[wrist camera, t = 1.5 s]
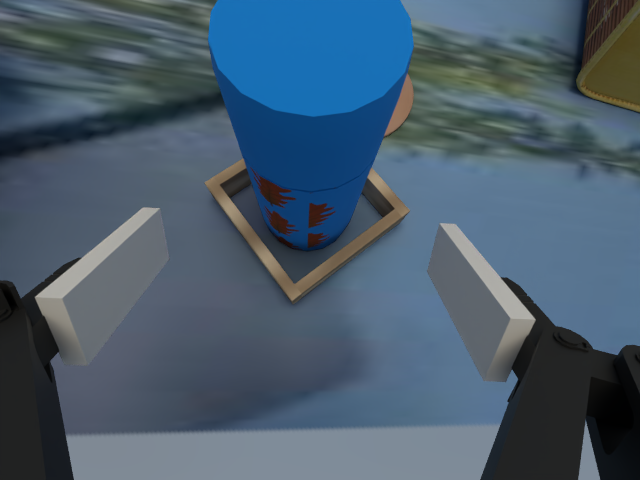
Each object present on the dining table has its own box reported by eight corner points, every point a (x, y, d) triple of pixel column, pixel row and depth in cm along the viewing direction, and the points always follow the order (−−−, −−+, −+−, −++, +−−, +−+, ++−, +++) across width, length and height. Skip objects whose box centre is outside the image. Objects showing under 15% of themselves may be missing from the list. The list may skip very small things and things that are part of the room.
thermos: (302, 155, 43) (300, -76, 19) (367, 205, 41) (456, 22, 17) (244, 215, 40) (157, 35, 16) (312, 270, 39) (327, 162, 15)
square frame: (213, 197, 41) (204, 182, 37) (319, 129, 44) (320, 109, 40) (293, 304, 37) (291, 300, 34) (400, 222, 41) (410, 210, 37)
